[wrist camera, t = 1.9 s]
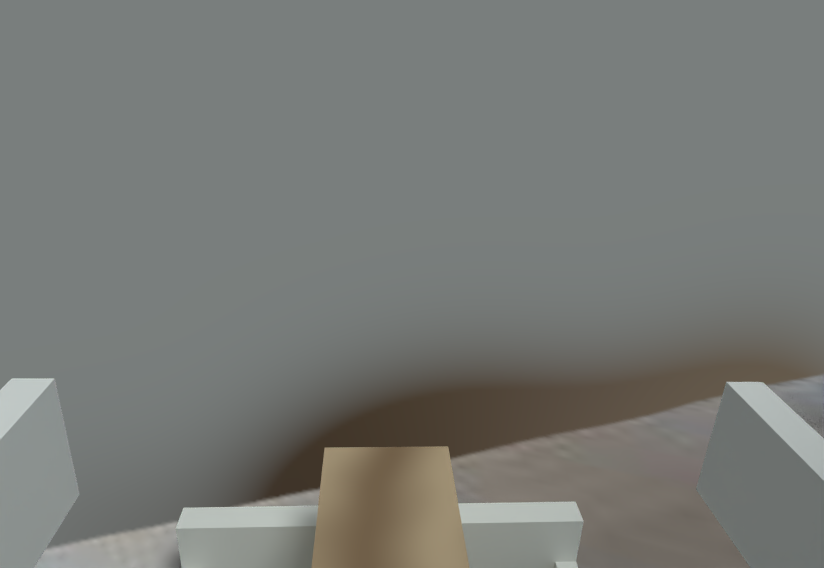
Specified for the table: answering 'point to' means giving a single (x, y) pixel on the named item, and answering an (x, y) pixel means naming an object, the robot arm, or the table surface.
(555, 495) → the table surface
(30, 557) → the robot arm
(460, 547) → the tan cardboard box
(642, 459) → the table surface
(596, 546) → the table surface
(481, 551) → the bay
